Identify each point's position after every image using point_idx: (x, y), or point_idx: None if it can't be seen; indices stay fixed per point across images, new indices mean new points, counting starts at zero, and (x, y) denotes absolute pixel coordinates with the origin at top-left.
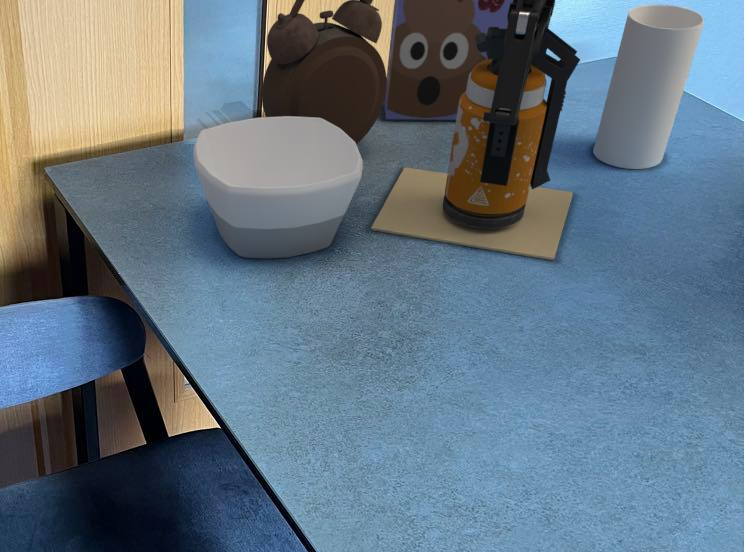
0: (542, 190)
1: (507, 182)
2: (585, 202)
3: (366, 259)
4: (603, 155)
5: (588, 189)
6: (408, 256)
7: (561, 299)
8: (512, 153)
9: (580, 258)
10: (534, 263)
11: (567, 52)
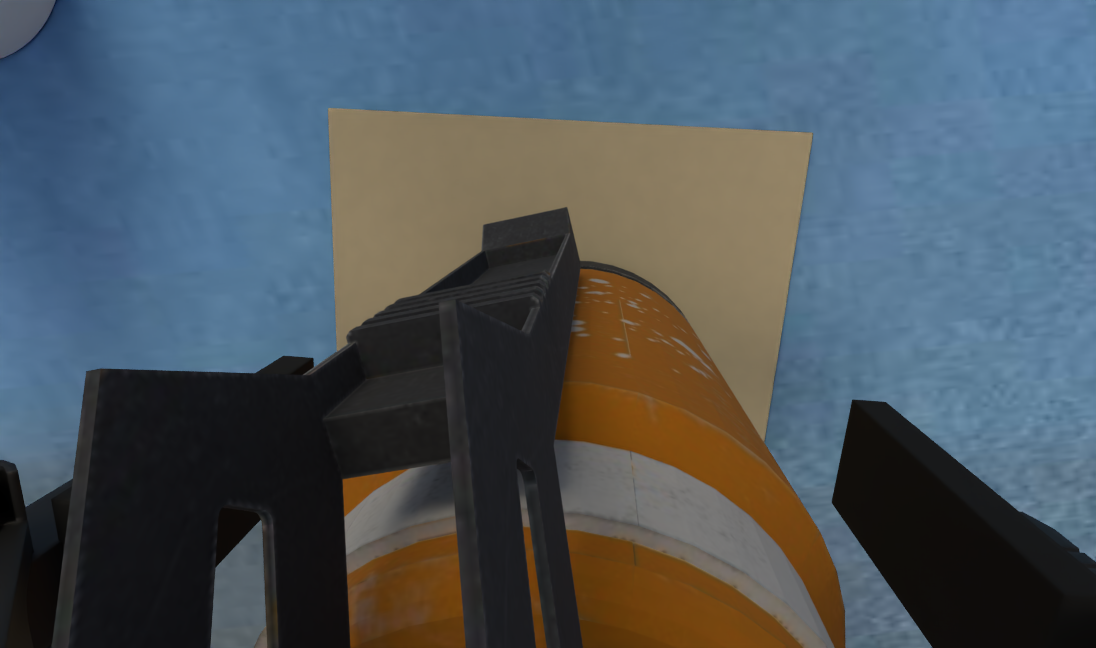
0: (351, 212)
1: (862, 401)
2: (370, 59)
3: (892, 635)
4: (24, 19)
5: (271, 56)
6: (857, 540)
7: (1061, 85)
8: (969, 475)
9: (773, 44)
10: (835, 192)
11: (493, 601)
